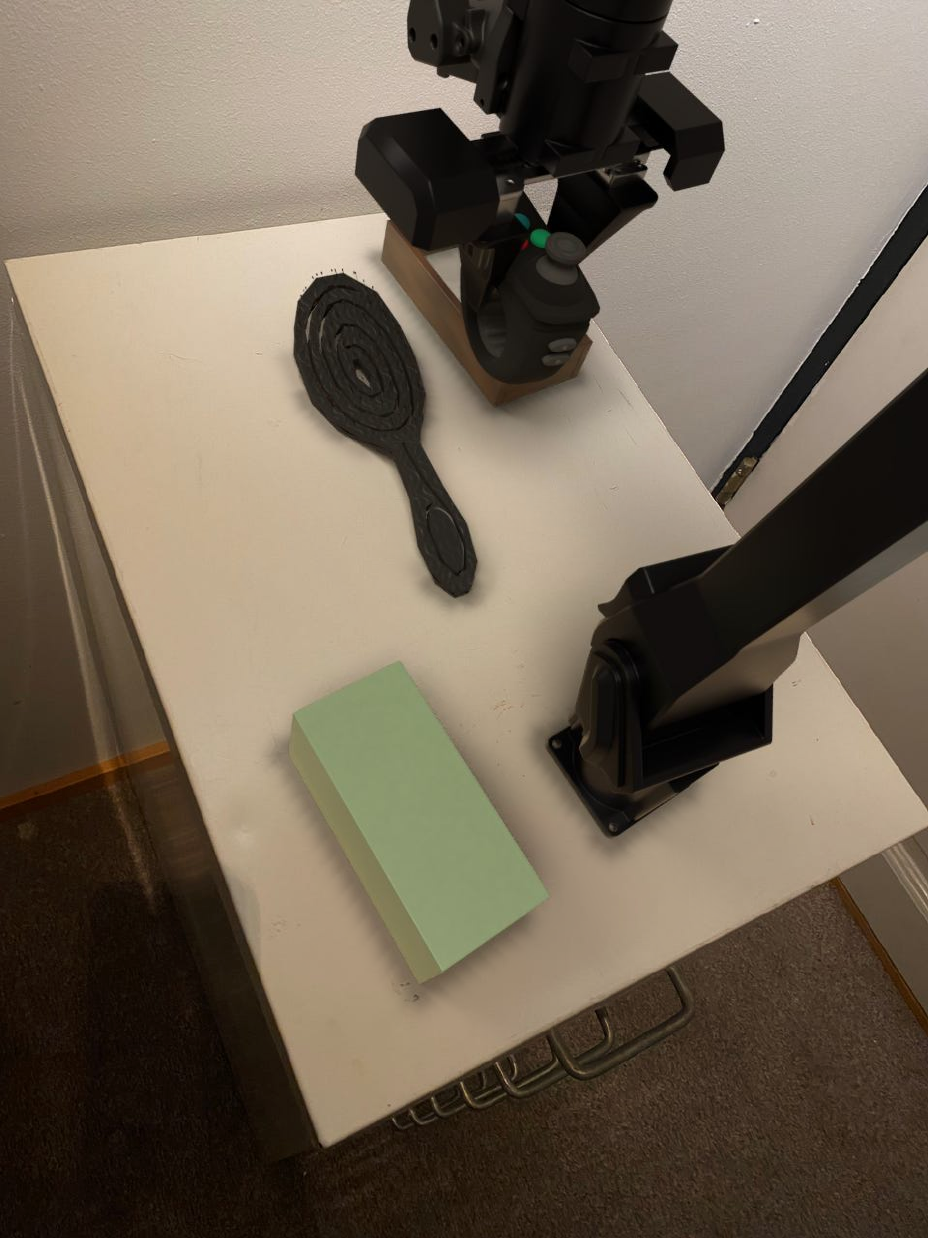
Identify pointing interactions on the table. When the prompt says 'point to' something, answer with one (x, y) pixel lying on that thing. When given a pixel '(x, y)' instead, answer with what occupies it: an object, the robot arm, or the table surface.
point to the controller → (533, 306)
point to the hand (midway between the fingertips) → (508, 296)
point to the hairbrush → (380, 408)
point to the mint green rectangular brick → (412, 820)
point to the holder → (458, 318)
